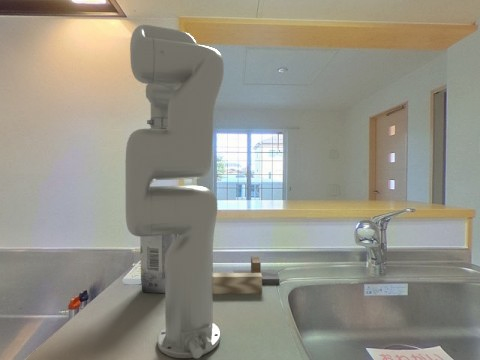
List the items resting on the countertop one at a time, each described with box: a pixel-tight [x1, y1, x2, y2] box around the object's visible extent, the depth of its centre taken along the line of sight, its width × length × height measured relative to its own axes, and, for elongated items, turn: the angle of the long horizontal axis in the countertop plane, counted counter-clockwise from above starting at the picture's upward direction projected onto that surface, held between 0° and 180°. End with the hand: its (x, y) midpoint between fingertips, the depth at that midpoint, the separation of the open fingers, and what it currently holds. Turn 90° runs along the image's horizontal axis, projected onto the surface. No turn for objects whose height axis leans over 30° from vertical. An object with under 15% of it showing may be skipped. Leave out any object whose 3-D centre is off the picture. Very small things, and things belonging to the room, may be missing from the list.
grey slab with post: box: [232, 254, 281, 285], centre depth 94 cm, size 8×14×6 cm, turn 91°
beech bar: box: [213, 272, 263, 295], centre depth 85 cm, size 20×3×5 cm, turn 92°
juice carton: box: [139, 235, 178, 294], centre depth 87 cm, size 9×10×27 cm
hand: (162, 175), depth 100 cm, fingers open, 9 cm apart
